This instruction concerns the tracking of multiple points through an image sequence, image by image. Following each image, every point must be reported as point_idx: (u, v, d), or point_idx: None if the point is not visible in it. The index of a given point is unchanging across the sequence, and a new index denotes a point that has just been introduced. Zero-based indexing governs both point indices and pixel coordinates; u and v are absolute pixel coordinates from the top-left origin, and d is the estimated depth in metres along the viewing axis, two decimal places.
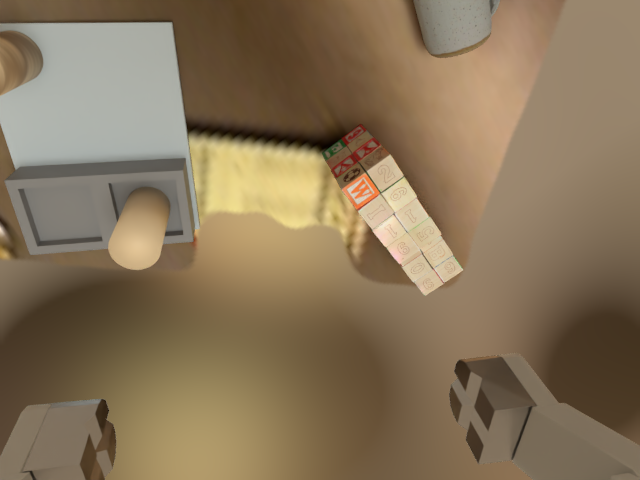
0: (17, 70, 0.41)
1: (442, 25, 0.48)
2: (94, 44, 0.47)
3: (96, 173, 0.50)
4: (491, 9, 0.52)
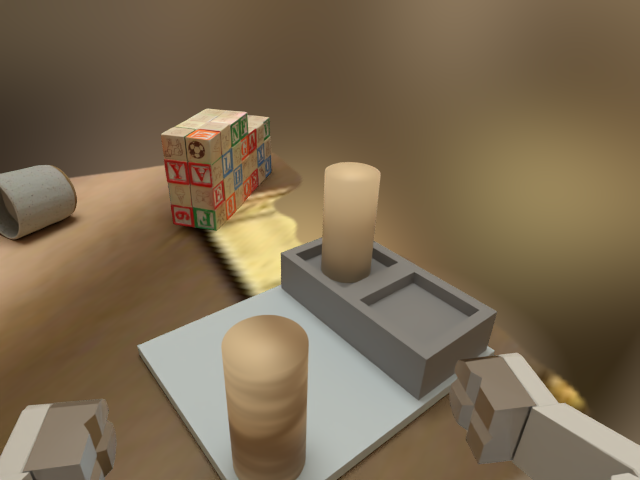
0: None
1: (41, 181, 0.55)
2: (202, 392, 0.35)
3: (343, 304, 0.39)
4: None
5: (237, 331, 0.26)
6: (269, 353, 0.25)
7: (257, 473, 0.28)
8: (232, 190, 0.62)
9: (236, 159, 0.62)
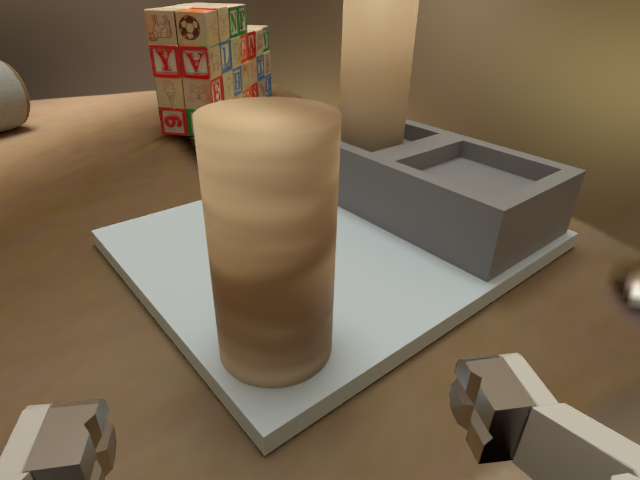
0: None
1: None
2: (177, 276, 0.24)
3: (372, 169, 0.29)
4: None
5: (221, 106, 0.16)
6: (275, 120, 0.14)
7: (258, 354, 0.17)
8: (231, 94, 0.51)
9: (235, 57, 0.51)
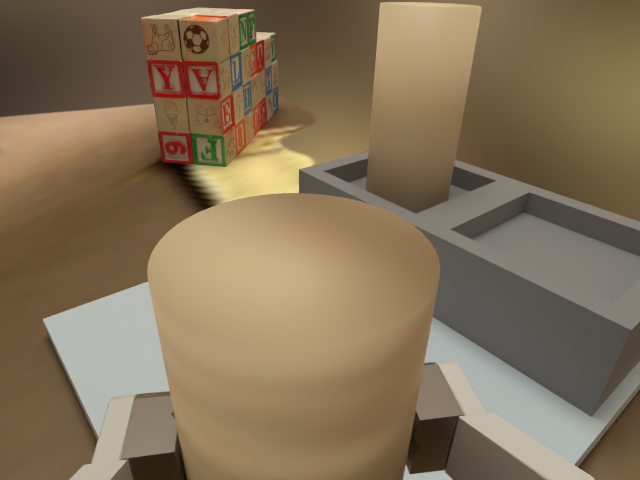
0: None
1: None
2: None
3: None
4: None
5: (208, 225, 0.09)
6: (314, 278, 0.07)
7: None
8: (241, 114, 0.44)
9: (245, 71, 0.45)
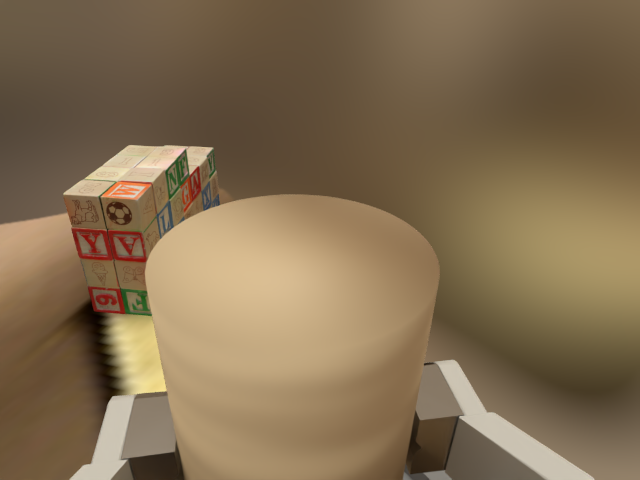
0: None
1: None
2: None
3: None
4: None
5: (206, 226, 0.09)
6: (312, 280, 0.07)
7: None
8: None
9: (177, 213, 0.46)
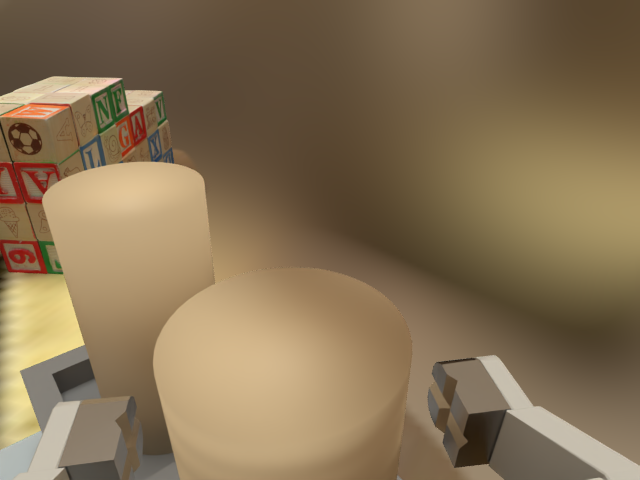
0: None
1: None
2: None
3: None
4: None
5: (206, 308, 0.10)
6: (299, 365, 0.08)
7: None
8: None
9: (111, 154, 0.38)
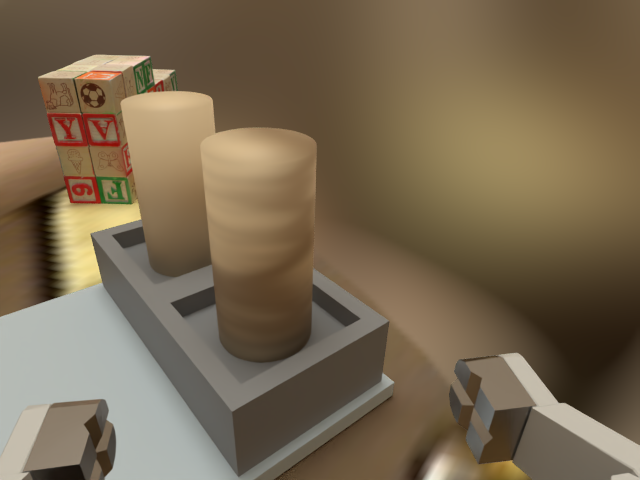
0: None
1: None
2: None
3: (146, 310, 0.24)
4: None
5: (222, 136, 0.20)
6: (265, 150, 0.19)
7: (250, 334, 0.21)
8: None
9: None
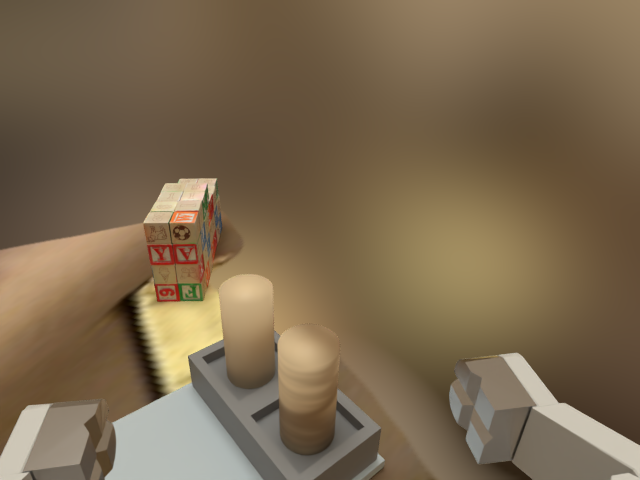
0: None
1: None
2: None
3: (235, 419, 0.41)
4: None
5: (287, 336, 0.36)
6: (313, 351, 0.35)
7: (301, 441, 0.38)
8: (207, 259, 0.65)
9: (207, 229, 0.65)
